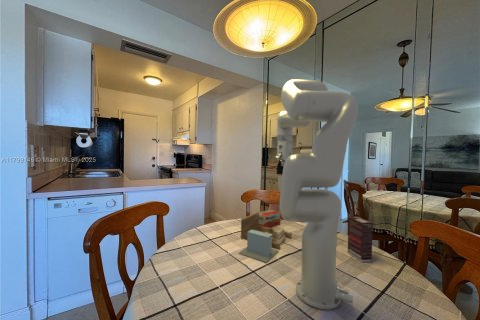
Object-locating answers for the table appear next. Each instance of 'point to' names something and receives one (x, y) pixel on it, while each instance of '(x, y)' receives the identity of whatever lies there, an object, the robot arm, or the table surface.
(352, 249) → the supplement box
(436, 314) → the table surface
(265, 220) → the medicine box
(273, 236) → the offcut stack
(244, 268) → the table surface
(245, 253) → the mat
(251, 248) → the grey blue block
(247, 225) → the rack
